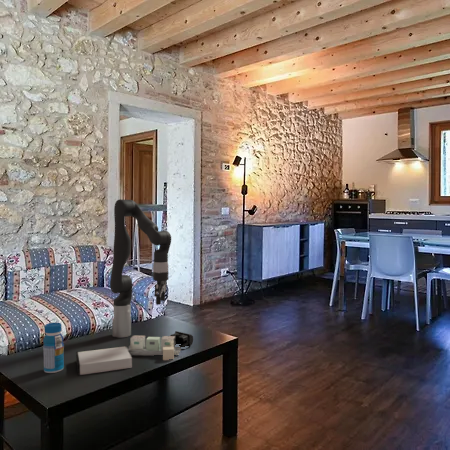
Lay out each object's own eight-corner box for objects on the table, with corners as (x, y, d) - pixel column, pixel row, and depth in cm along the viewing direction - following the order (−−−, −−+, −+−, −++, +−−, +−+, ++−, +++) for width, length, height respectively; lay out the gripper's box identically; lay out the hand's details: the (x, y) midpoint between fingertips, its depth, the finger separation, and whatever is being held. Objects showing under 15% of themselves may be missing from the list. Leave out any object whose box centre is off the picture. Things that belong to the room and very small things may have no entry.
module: (146, 351, 202) (145, 339, 201) (148, 348, 206) (148, 336, 206) (158, 352, 201) (158, 339, 201) (160, 349, 205) (160, 337, 205)
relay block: (162, 360, 193) (162, 349, 193) (163, 357, 197) (163, 346, 197) (173, 360, 194) (173, 349, 194) (174, 357, 198) (173, 346, 198)
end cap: (193, 346, 213) (193, 333, 213) (184, 350, 208) (184, 336, 207) (179, 342, 219) (179, 329, 219) (169, 346, 214) (169, 333, 213)
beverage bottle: (42, 374, 177) (41, 327, 176) (44, 367, 185) (43, 322, 184) (63, 372, 179) (62, 326, 179) (65, 365, 187) (64, 321, 187)
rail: (124, 354, 201) (124, 338, 200) (129, 349, 208) (129, 334, 207) (178, 356, 199) (178, 340, 199) (180, 351, 206) (180, 335, 206)
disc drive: (76, 362, 192) (75, 351, 192) (125, 355, 201) (125, 345, 201) (78, 376, 176) (77, 364, 176) (132, 368, 185) (131, 357, 184)
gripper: (157, 268, 218) (157, 299, 219) (149, 272, 204) (149, 305, 205) (171, 268, 218) (171, 299, 218) (164, 273, 203) (164, 306, 204)
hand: (160, 302), depth 212 cm, fingers open, 8 cm apart
